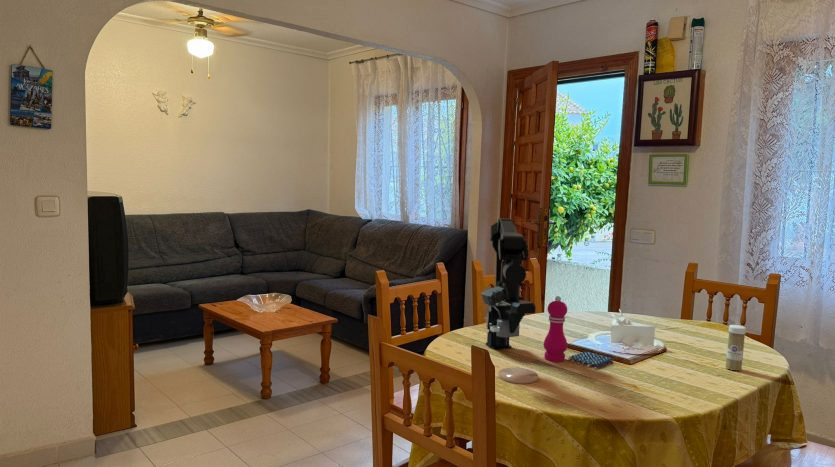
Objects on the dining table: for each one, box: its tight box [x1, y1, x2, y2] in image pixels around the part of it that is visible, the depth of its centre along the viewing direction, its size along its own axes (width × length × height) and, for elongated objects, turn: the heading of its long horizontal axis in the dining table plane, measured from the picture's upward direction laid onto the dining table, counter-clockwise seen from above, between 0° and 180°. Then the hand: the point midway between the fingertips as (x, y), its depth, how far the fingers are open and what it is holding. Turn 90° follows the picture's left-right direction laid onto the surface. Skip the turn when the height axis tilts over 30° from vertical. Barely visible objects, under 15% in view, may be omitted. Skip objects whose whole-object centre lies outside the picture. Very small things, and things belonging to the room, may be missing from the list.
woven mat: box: [567, 351, 614, 370], centre depth 184 cm, size 10×11×2 cm
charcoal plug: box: [490, 318, 521, 338], centre depth 174 cm, size 9×4×4 cm, turn 113°
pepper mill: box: [543, 295, 568, 363], centre depth 185 cm, size 7×7×20 cm
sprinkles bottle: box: [725, 324, 747, 371], centre depth 180 cm, size 5×5×13 cm
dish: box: [587, 308, 665, 351], centre depth 204 cm, size 25×25×11 cm
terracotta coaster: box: [498, 367, 539, 385], centre depth 169 cm, size 11×11×1 cm
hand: (508, 331), depth 174 cm, fingers closed on charcoal plug, 4 cm apart
